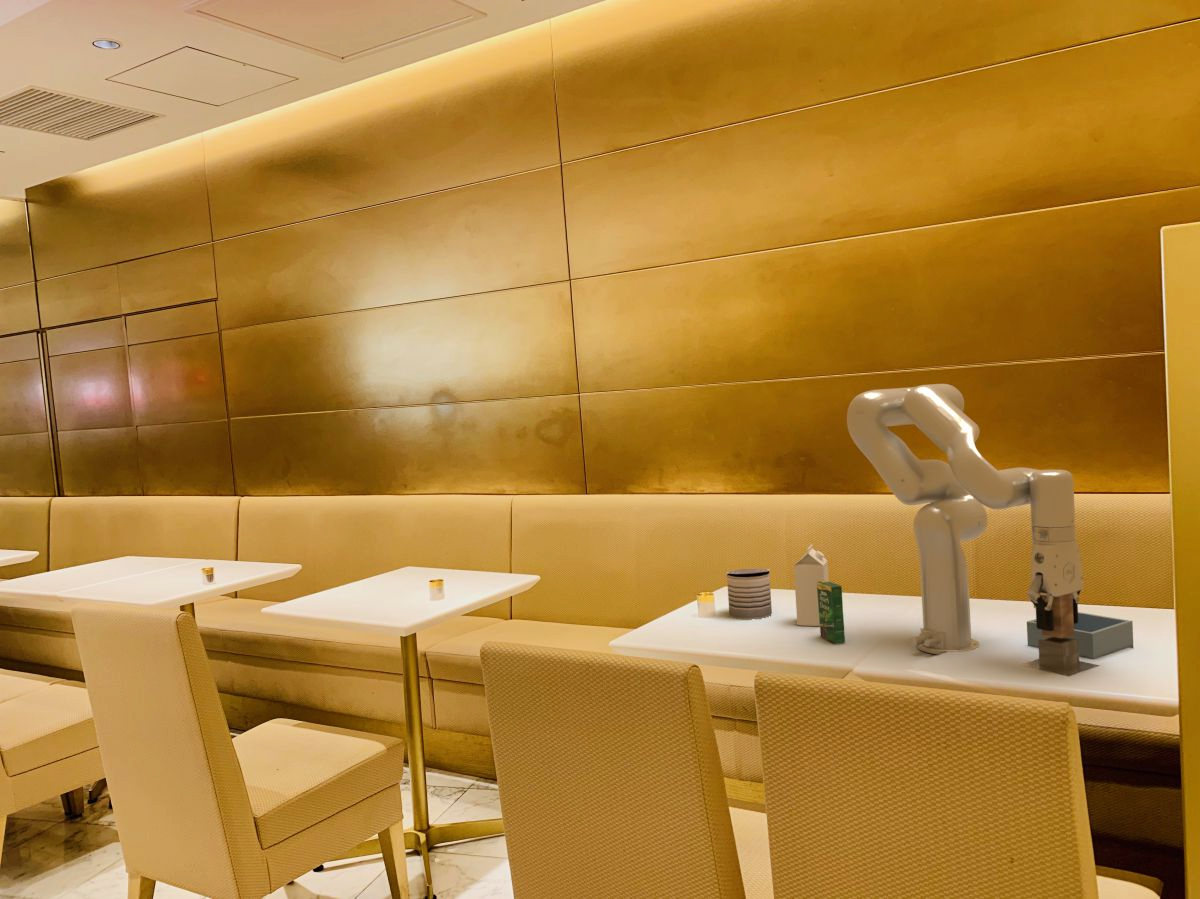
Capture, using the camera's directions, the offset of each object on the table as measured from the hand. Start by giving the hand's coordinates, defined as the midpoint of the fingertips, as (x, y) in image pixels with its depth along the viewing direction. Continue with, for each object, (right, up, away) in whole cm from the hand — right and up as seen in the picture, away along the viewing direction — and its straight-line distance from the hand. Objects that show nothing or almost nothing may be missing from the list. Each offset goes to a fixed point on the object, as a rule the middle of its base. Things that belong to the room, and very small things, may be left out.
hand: (1057, 625), depth 174 cm
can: (-49, -9, +62) cm, 79 cm away
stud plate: (+1, -9, 0) cm, 9 cm away
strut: (+1, -8, 0) cm, 8 cm away
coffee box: (-35, -10, +33) cm, 49 cm away
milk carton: (-35, -9, +49) cm, 61 cm away
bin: (+11, -7, +12) cm, 18 cm away
